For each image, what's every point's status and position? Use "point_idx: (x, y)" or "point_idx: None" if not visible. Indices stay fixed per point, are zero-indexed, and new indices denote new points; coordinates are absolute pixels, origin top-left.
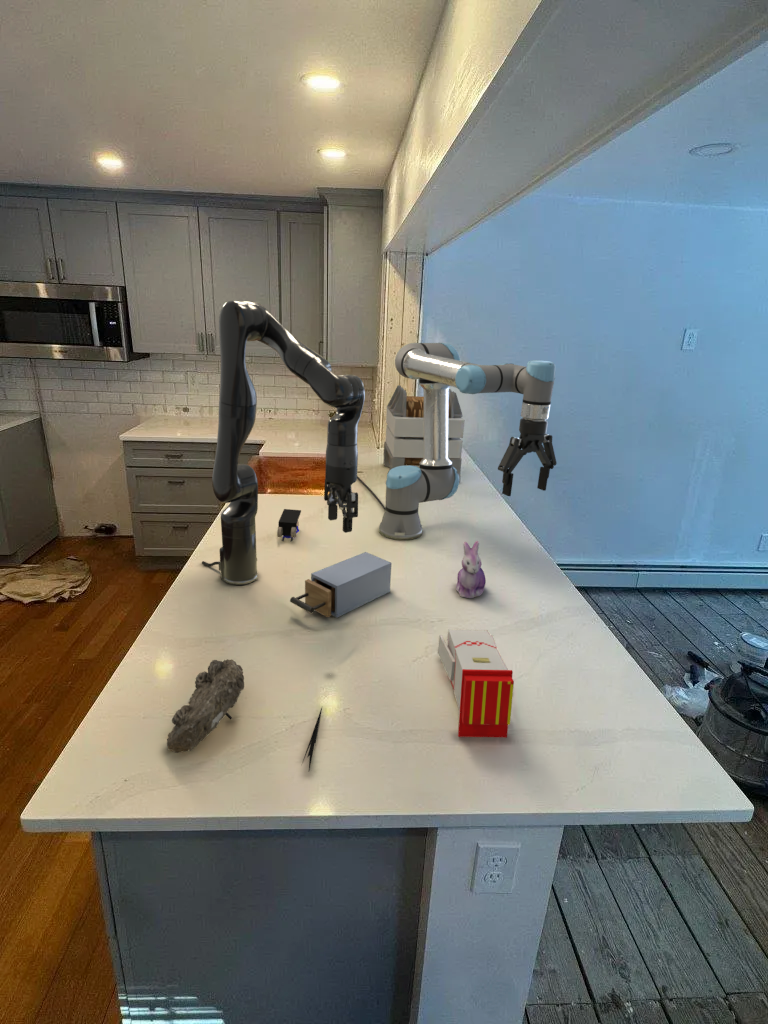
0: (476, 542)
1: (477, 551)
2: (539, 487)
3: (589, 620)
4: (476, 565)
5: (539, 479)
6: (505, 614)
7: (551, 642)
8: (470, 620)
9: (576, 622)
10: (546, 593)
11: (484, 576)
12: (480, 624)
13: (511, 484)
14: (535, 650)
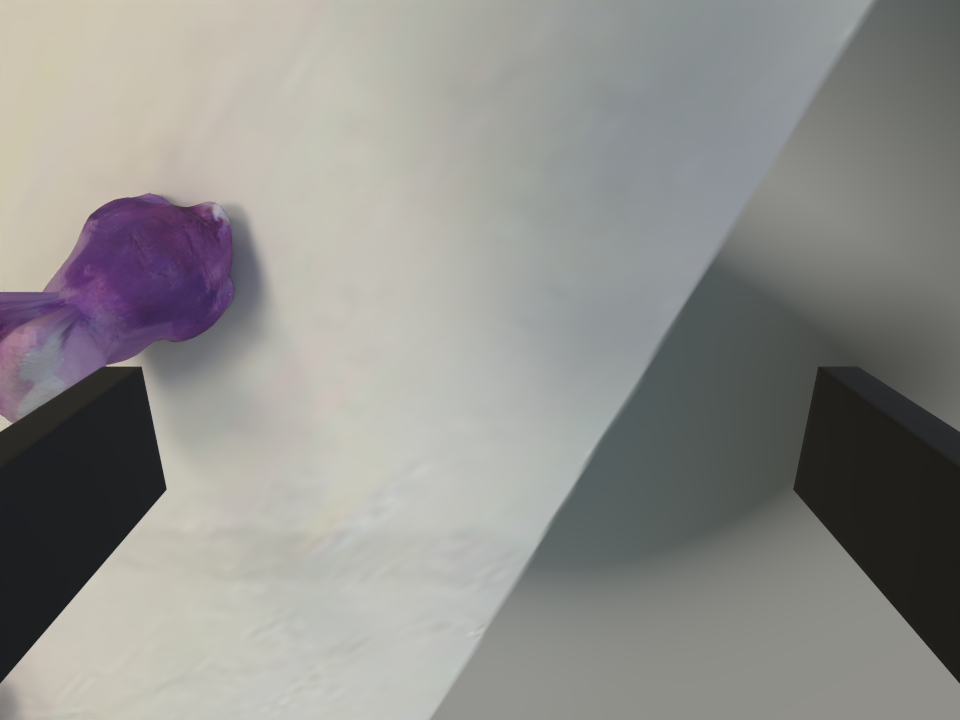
0: (6, 357)
1: (28, 381)
2: (822, 415)
3: (478, 619)
4: None
5: (904, 458)
6: (215, 479)
7: (258, 651)
8: None
9: (425, 610)
10: (488, 428)
11: (193, 327)
12: None
13: (46, 611)
14: (182, 659)
